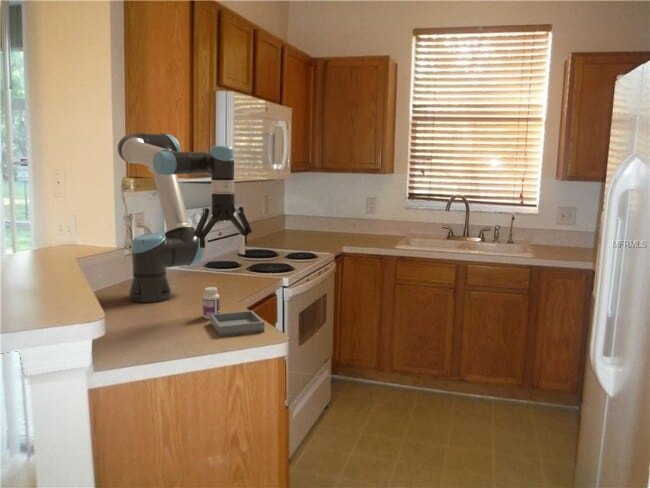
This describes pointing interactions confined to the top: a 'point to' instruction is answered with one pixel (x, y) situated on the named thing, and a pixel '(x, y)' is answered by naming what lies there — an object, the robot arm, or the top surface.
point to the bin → (236, 323)
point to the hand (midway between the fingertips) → (224, 255)
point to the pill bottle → (211, 302)
